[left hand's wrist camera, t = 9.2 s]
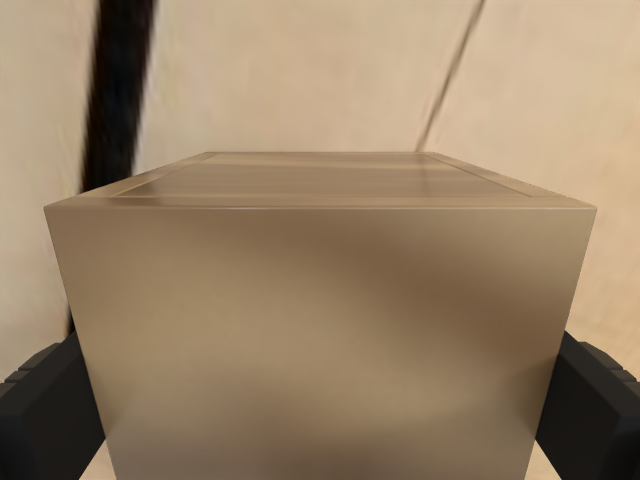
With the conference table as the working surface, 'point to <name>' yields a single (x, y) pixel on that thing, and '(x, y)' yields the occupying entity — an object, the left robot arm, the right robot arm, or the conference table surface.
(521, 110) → the conference table surface
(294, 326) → the cabinet
